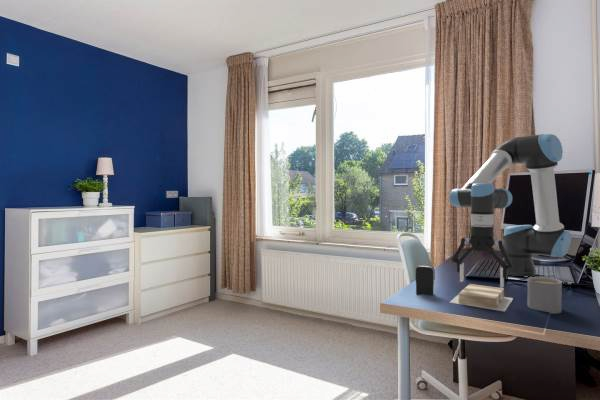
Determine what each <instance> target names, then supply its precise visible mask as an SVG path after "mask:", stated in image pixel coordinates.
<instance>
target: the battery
mask: <svg viewBox="0 0 600 400" xmlns="http://www.w3.org/2000/svg"><path fill="white" fill-rule="evenodd" d="M435 280H436V271H435V268H434V267H433V266H431V265H421V264H420V265H418V266H416V267H415V294H416V295H419V296H420V295H426V296H434V295H435Z"/></svg>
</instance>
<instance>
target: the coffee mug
mask: <svg viewBox="0 0 600 400" xmlns="http://www.w3.org/2000/svg"><path fill="white" fill-rule="evenodd" d="M562 291H563V282H562V280H560V279H558V278H552V277H547V276H534V277H527V298H526V299H527V300H526V301H527V307H528V308H530V309H532V310H536V311H539V312H547V313H548V314H551V315H555V314H560V313H562V305H563V304H562V303H563V300H562V299H563V298H562V297H563V292H562Z"/></svg>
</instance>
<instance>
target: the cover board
mask: <svg viewBox="0 0 600 400" xmlns="http://www.w3.org/2000/svg"><path fill="white" fill-rule="evenodd" d="M458 294H459V303H462V304H468V305H474V306H480V307H486V308H492V309H496V308H497V306H498V305H499V304H500V302H501V301H502V300H503V298H504V297H505V288H504V287H503V288H502V287H497V286H496V287H495V286H489V285H488V286H487V285H480V284H472V283H469V284H468V285H467V286H466V287H464V288H463V289H462V290H461V291H459V293H458ZM462 304H461V305H462ZM468 305H467V306H468ZM474 306H473V307H474ZM480 307H479V308H480ZM486 308H485V309H486ZM492 309H491V310H492Z"/></svg>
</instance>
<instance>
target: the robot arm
mask: <svg viewBox="0 0 600 400" xmlns="http://www.w3.org/2000/svg"><path fill="white" fill-rule="evenodd" d="M563 151H564V150H563V146H562V142H561V140H560V139H559V137H558V136H557V135H555V134H554V133H553V134H552V133H550V134H547V133H546V134H544V133H542V134H533V135H526V136H525V135H524V136H516V137H512V138H511V139H508V140H506V141H505V142H503V143H501V144H500V145H498V146H497V147H496V148H495V149H493V151H492V152H490V154H489V158H488V159H487V160H486V161H485V163H484V164H483V165H482V166H481V167H480V168H479V169H478V170H477V171H476V172H475V173H474V174H473V175H472V177H470V178H469V179H468V181H467V182H466V183H465V184H463V186H462V187H461V188H460V187H457V188H453V189H451V191H450V193H449V197H448V198H449V199H448V200H449V202H450V205H452V206H453V207H457V208H470V224H471V226H470V237H469V238H466V237H465V236H463V237H461V241H460V244H459V246H458V248H457V250H456V252H455V253H454V255H453V257H452V259H451V262H454V263H456V271H457V273H459V282H460V283H462V282H464V280H465V279H464V278H465V277H464V276H465V275H464V274H465V263H463V262H464V260H465V259H467V258H468V257H469V256H471V255H470V254H472V253H473V252H474V251H476V252H483V253H486V252H488V253H489V254H490V255H491V256H492V257H493V258H494V259H495V261H496V262H497V263H498V264H499V265H500V266H499V274H500V275H499V276H500V277H499V279H500V280H499V282H500V284H499V288H504V286H505V279H507V278H508V275H513V276H512V277H514V276H533V275H536V276H537V270H536V266H535V264H534V260H533V255H540V256H546V257H547V256H548V257H551V258H553V257H554V258H555V257H557V258H562V257H564V256H566V254H568V251H569V250H570V247H571V243H572V242H571V241H572V235H571V232H570V231H568V230H565V226H564V224H563V223H562V222H560V216H559V215H560V214H559V207H558V205H559V204H558V198H557V197H558V195H557V186H556V178H555V176H556V175H555V168H556V167H558V165H559V164H558V162H560V161H561V160H562V159H563V153H564V152H563ZM517 164H525V169H526V170H528V171H529V172H530V179H531V186H532V187H531V188H532V196H533V206H534V214H535V215H534V216H535V224H534V225H532V224H518V225H516V224H515V225H509V226H506V227H504V230H503V240H502V239H500V240H495V239H494V229H495V228H494V227H493V226H494V223H495V222H494V220H495V219H494V217H495V216H494V213H495V212H494V210H495V209H497V210H498V209H500V210H501V209H505V208H508V207H509V206H510V205H511V204H512V203H513V195H512V193H511V191H509V190H508V189H506V188H502V187H501V188H495V186H494V184H493V183H494V181H495V180H496V179H497V178H498V177H499V176H500V174H501V173H502V172H503V171H504V170H506V169H509V168H510V167H511V166H512V165H517ZM468 243H469V244H470V245H471V247H470V248H468V250H467V251H466V252H465V253H464V254H462V252H463V250H464V248H465V246H466V245H467V244H468ZM494 245H496V247H498V249H499V251H500V252H501V255H502V257H503V258H502V257H501V256H500V255H499V253H497V251H496V250H495V249H494V248H493V247H494ZM461 254H462V256H461V257H460V258H459V256H460V255H461Z"/></svg>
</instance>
